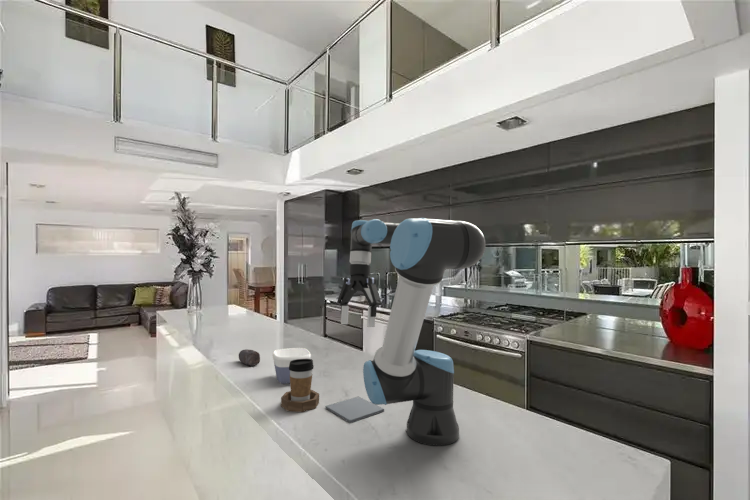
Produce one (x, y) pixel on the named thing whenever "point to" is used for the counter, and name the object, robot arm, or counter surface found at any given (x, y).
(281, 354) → the blue white tub
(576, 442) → the counter surface
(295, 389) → the coffee cup
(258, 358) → the perforated stone tool
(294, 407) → the cup cradle
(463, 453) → the counter surface
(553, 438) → the counter surface
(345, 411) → the rubber mat
